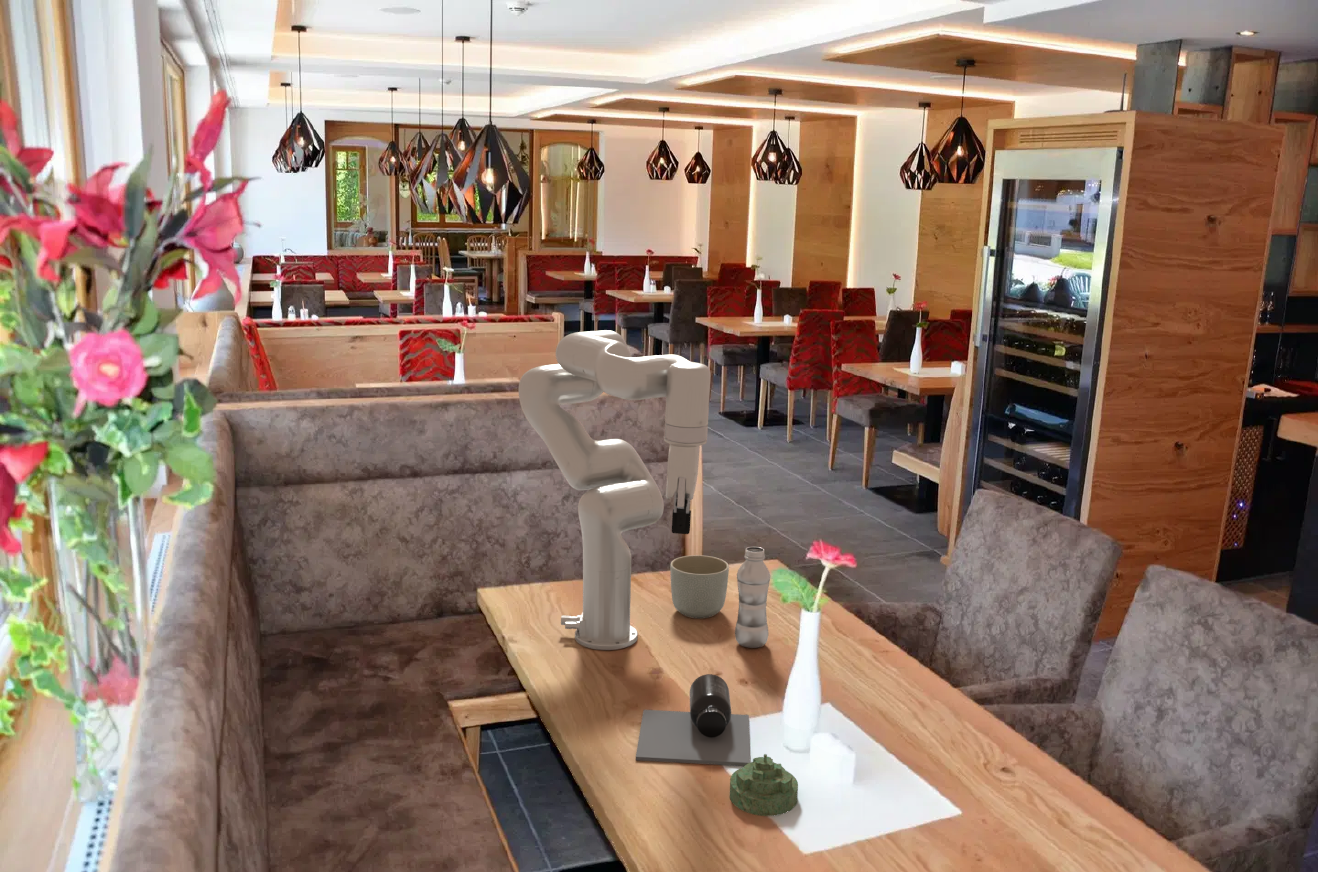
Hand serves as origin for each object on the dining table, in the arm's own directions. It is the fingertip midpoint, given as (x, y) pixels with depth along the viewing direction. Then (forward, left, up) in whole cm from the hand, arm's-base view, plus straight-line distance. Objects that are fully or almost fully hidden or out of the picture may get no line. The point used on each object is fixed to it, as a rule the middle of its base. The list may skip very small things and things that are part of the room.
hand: (680, 532), depth 191 cm
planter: (+3, +32, -28) cm, 43 cm away
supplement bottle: (+6, -13, -24) cm, 28 cm away
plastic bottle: (+14, +16, -28) cm, 36 cm away
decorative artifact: (+15, -39, -29) cm, 51 cm away
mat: (+4, -23, -28) cm, 36 cm away
